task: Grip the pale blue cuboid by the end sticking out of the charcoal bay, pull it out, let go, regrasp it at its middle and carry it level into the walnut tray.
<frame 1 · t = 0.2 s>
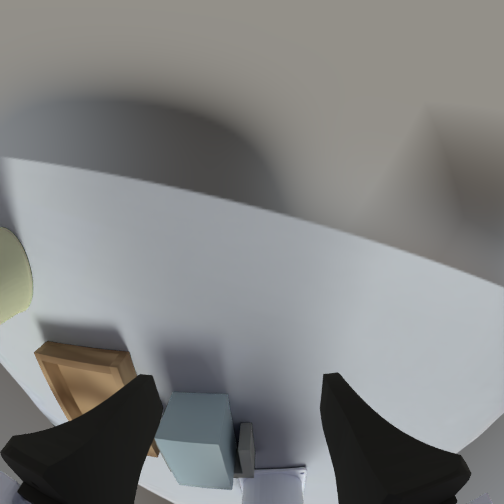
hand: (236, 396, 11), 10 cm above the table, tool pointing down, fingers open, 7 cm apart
bay: (211, 438, 24), on the table
tray: (103, 396, 23), on the table
pale blue cuboid: (207, 420, 23), on the table
can: (8, 270, 21), on the table
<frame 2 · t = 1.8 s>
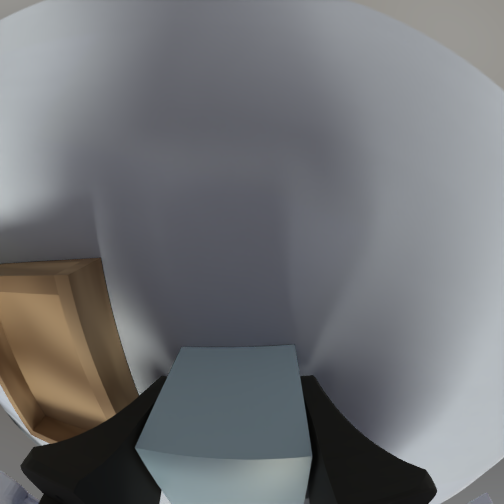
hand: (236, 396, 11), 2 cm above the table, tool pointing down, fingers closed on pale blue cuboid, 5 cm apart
tray: (59, 363, 13), on the table
pale blue cuboid: (244, 409, 13), on the table, touching gripper
when the fingers open (2 cm above the table, at t = 4.1 s): pale blue cuboid stays where it is, on the table.
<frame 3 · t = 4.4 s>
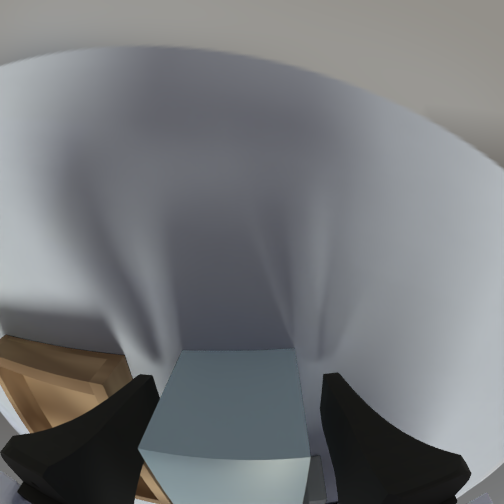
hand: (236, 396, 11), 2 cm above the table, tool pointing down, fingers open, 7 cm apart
bay: (253, 478, 15), on the table
tray: (87, 421, 14), on the table
pale blue cuboid: (244, 410, 13), on the table
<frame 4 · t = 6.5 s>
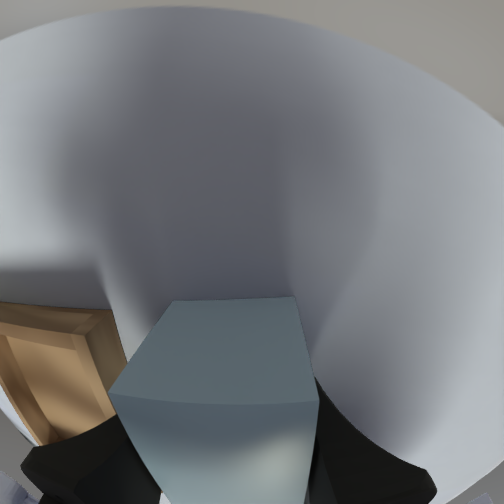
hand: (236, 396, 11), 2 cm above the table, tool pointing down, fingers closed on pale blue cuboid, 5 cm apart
tray: (73, 394, 13), on the table
pale blue cuboid: (240, 376, 12), on the table, touching gripper
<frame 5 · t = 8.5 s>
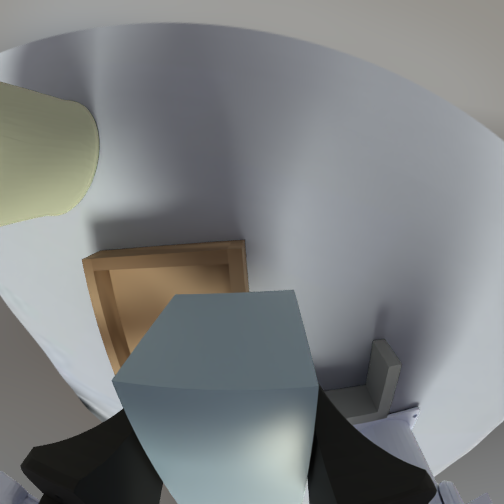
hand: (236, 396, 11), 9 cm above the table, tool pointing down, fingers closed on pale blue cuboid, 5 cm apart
bay: (329, 374, 20), on the table
tray: (179, 330, 20), on the table
pale blue cuboid: (240, 370, 13), point 7 cm above the table, touching gripper
can: (56, 157, 17), on the table
when the fingers open (3 cm above the table, at t = 10.5 s): pale blue cuboid stays where it is, resting on tray.
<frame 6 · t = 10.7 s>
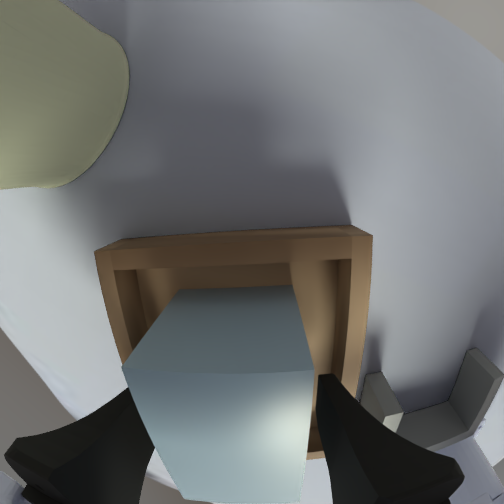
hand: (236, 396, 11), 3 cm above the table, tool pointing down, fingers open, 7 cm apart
bay: (418, 394, 14), on the table
tray: (242, 355, 14), on the table
pale blue cuboid: (241, 362, 13), resting on tray
can: (61, 106, 11), on the table
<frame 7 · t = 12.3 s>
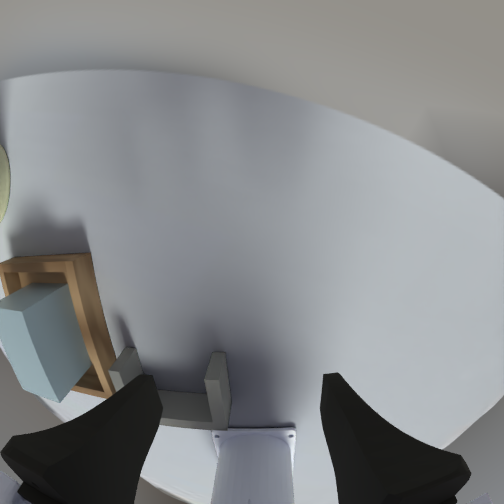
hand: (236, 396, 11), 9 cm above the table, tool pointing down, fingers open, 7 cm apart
bay: (178, 377, 22), on the table
tray: (62, 321, 21), on the table
pale blue cuboid: (60, 324, 21), resting on tray
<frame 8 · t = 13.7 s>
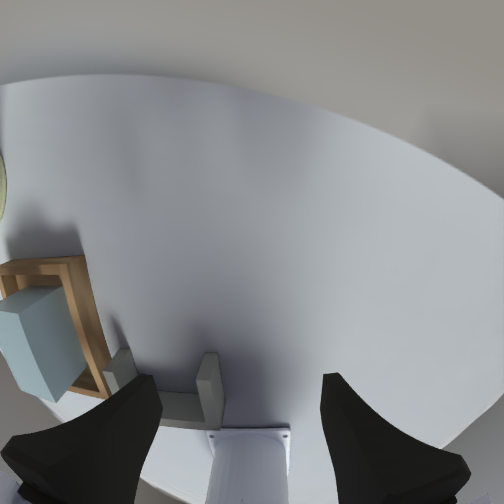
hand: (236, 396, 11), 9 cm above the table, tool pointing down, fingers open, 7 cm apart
bay: (172, 377, 22), on the table
tray: (59, 323, 21), on the table
pale blue cuboid: (56, 326, 21), resting on tray
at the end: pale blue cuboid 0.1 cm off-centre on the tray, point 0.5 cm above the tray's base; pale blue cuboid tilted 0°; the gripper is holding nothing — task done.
